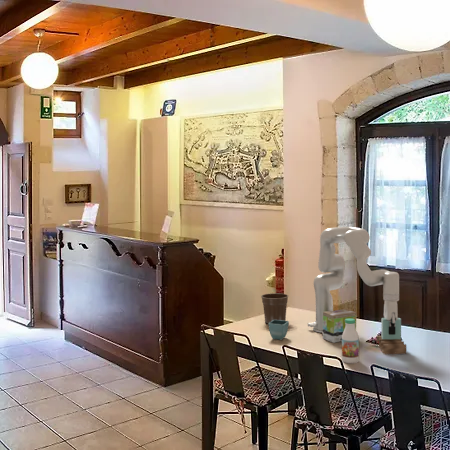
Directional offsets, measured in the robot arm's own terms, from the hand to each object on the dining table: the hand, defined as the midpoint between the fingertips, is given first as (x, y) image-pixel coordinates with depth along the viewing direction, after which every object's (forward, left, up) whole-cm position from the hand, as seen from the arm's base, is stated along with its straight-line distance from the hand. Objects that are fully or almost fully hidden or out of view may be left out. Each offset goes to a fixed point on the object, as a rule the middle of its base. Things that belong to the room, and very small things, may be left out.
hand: (391, 333), depth 304 cm
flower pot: (-55, +21, -8) cm, 59 cm away
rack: (0, 0, -8) cm, 8 cm away
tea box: (-23, +19, -8) cm, 31 cm away
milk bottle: (-23, -19, -8) cm, 31 cm away
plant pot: (-56, +56, -8) cm, 80 cm away
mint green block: (0, 0, -3) cm, 3 cm away
